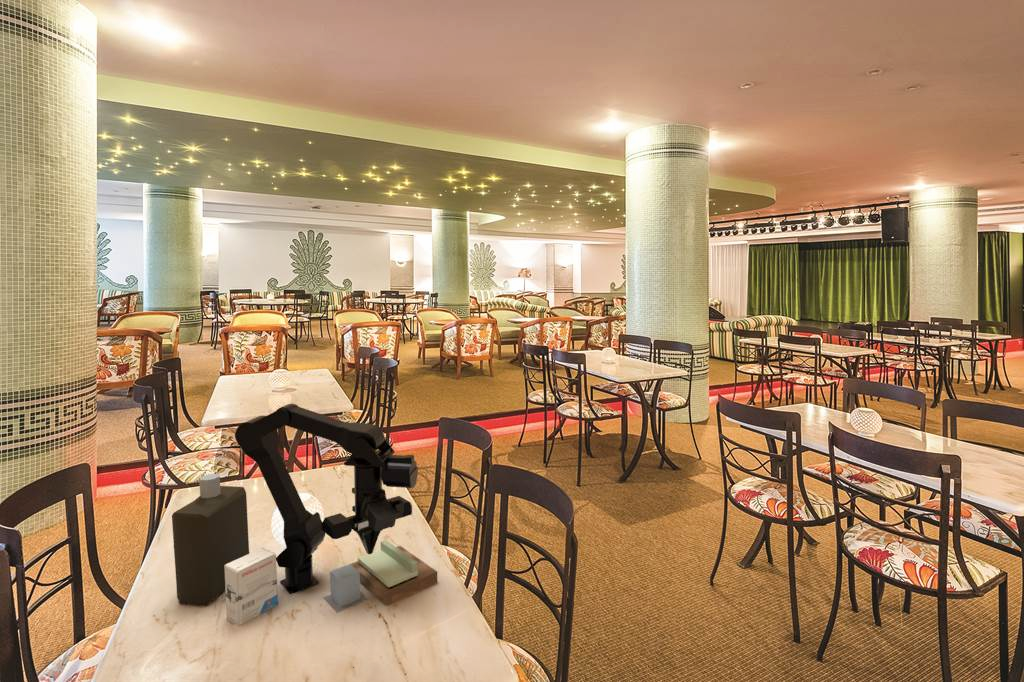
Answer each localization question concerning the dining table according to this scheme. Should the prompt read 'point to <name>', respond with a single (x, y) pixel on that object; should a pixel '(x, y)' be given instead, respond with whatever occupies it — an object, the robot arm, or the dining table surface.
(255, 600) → the ink box
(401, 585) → the brown hollow rectangular piece
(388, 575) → the cover
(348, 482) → the dining table surface
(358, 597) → the block
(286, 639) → the dining table surface
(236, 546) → the bottle
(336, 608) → the mat
